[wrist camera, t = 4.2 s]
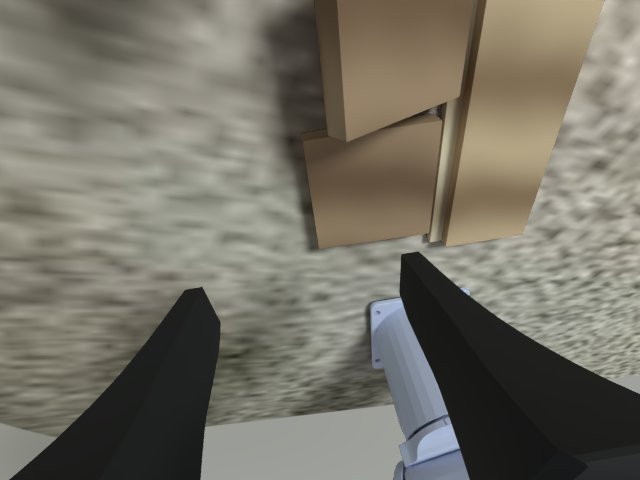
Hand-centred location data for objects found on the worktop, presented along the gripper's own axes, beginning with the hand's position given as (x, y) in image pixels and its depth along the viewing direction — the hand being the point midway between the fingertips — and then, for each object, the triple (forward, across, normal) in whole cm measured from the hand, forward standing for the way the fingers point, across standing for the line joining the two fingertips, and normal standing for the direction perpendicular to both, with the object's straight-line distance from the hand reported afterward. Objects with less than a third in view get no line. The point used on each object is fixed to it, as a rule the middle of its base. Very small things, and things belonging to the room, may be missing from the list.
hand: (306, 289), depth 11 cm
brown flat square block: (+8, -4, +1) cm, 9 cm away
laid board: (+8, -12, -3) cm, 15 cm away
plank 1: (+7, -5, -7) cm, 11 cm away
